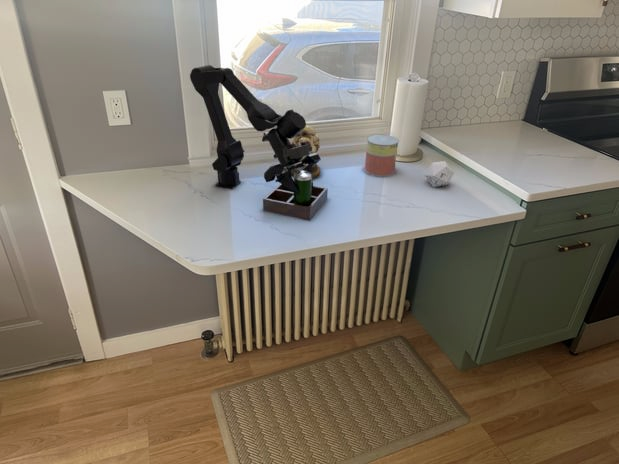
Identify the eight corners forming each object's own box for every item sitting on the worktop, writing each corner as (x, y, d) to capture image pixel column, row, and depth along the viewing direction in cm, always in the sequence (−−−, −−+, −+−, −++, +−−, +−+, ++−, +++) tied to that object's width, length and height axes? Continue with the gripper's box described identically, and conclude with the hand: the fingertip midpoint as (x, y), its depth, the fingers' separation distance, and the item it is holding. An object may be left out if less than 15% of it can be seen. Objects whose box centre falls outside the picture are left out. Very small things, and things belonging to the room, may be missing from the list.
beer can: (299, 215, 141) (300, 178, 134) (290, 208, 144) (290, 172, 138) (314, 211, 143) (315, 175, 137) (304, 204, 147) (305, 168, 141)
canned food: (396, 176, 170) (400, 145, 163) (365, 176, 170) (368, 144, 163) (392, 165, 179) (396, 134, 173) (363, 164, 179) (365, 134, 173)
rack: (263, 210, 144) (262, 198, 142) (283, 191, 157) (283, 179, 155) (309, 220, 140) (310, 208, 138) (327, 199, 152) (327, 188, 150)
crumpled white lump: (419, 186, 165) (432, 171, 156) (424, 166, 169) (437, 151, 160) (440, 195, 165) (454, 182, 156) (445, 176, 169) (460, 161, 160)
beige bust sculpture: (281, 163, 178) (281, 119, 170) (311, 160, 182) (312, 117, 173) (294, 181, 164) (295, 134, 155) (326, 178, 167) (328, 132, 158)
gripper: (269, 140, 129) (294, 189, 128) (317, 127, 140) (342, 172, 139) (253, 158, 138) (276, 204, 137) (300, 145, 149) (322, 187, 148)
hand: (305, 191), depth 140 cm, fingers closed on beer can, 5 cm apart
